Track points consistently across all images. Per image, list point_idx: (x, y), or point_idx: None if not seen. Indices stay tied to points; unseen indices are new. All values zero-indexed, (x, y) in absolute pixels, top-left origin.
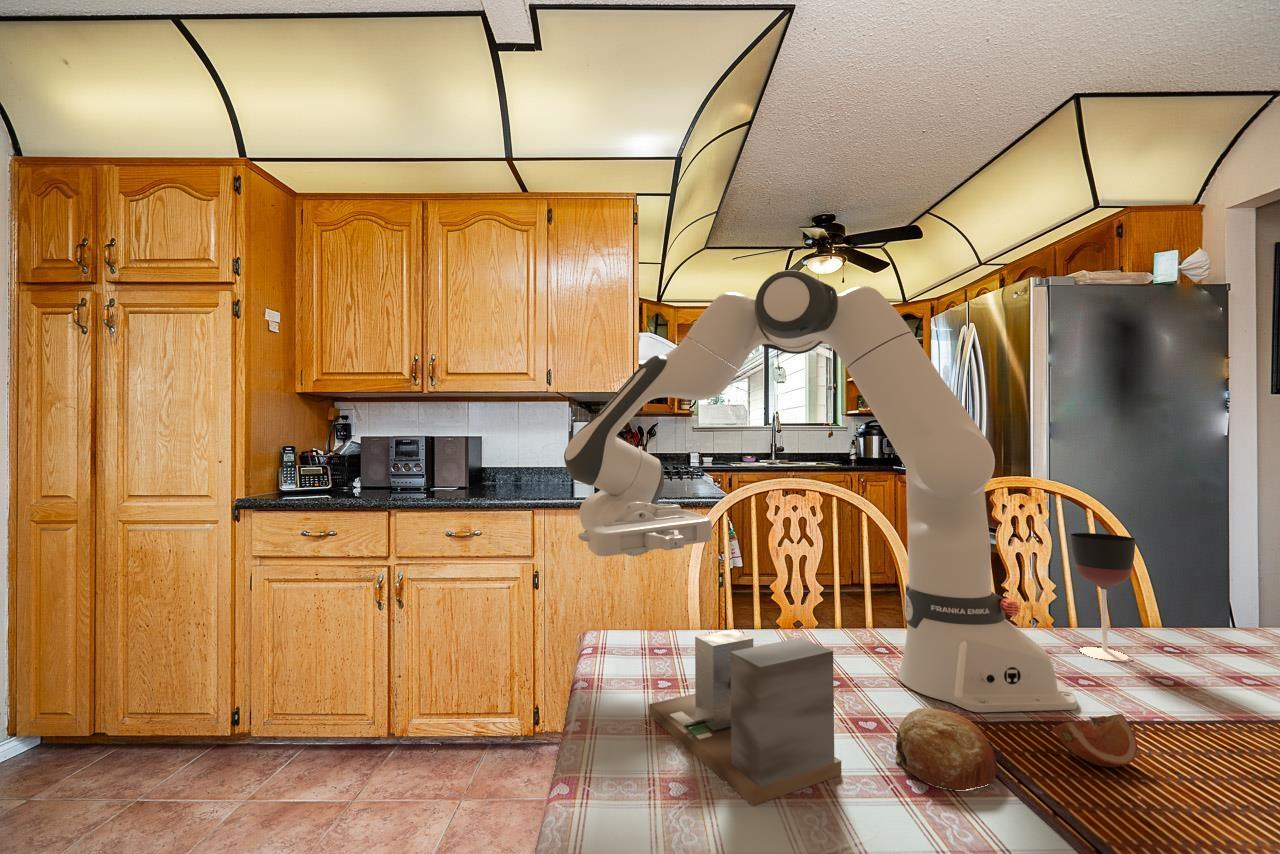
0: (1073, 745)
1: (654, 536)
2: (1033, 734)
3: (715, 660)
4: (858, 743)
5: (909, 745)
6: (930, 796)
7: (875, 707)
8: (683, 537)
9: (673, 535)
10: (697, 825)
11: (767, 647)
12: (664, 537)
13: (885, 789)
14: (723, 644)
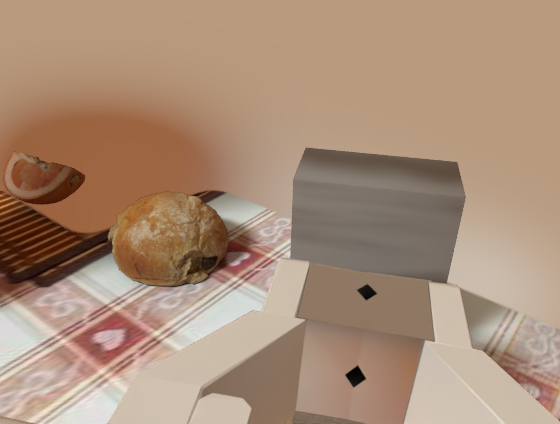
0: (78, 183)
1: (536, 411)
2: (8, 233)
3: None
4: (186, 321)
5: (214, 238)
6: (245, 247)
7: (26, 357)
8: (282, 260)
9: (332, 307)
10: (525, 336)
11: (387, 183)
12: (459, 307)
13: (270, 269)
14: (399, 277)
